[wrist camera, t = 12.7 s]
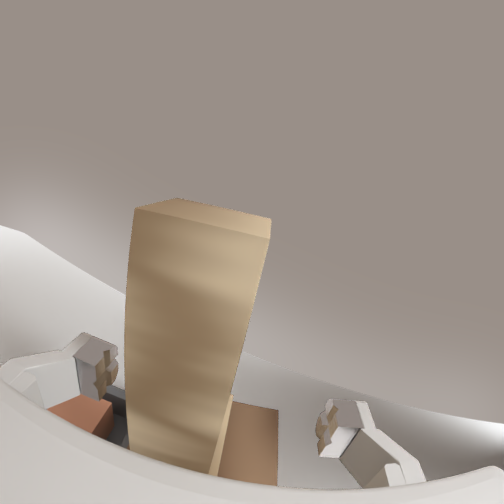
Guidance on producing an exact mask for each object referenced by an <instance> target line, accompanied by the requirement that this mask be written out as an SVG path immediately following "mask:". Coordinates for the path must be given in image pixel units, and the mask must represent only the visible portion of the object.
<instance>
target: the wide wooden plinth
mask: <svg viewBox="0 0 504 504" xmlns="http://www.w3.org/2000/svg"><path fill="white" fill-rule="evenodd" d="M127 449H128V450H130V446H129V445H128V447H127ZM277 468H278V410H274V409H268V408H263V407H258V406H253V405H248V404H243V403H238V402H234V401H232V405H231V410H230V415H229V420H228V425H227V430H226V435H225V440H224V445H223V450H222V455H221V460H220V465H219V470H218V475H217V476H218V477H222V478H227V479H232V480H238V481H244V482H250V483H257V484H264V485H272V486H277Z"/></svg>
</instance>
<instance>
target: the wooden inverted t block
mask: <svg viewBox="0 0 504 504" xmlns="http://www.w3.org/2000/svg"><path fill="white" fill-rule="evenodd" d="M270 231H271V219H269V218H264V217H261V216H256V215H252V214H247V213H244V212H239V211H235V210H230V209H226V208H221V207H217V206H212V205H208V204H203V203H198V202H194V201H189V200H184V199H180V198H175V199H171V200H166V201H162V202H157V203H153V204H149V205H145V206H141V207H136V208H135V211H134V219H133V226H132V234H131V242H130V252H129V262H128V274H127V287H126V304H125V334H124V367H125V396H126V413H127V426H128V436H129V446H130V450H131V451H133V452H136V453H139V454H141V455H144V456H147V457H150V458H153V459H156V460H159V461H162V462H165V463H168V464H171V465H175V466H178V467H181V468H185V469H189V470H192V471H196V472H200V473H204V474H209V475H213V476H217V475H218V470H219V465H220V460H221V455H222V450H223V445H224V440H225V435H226V430H227V425H228V420H229V415H230V410H231V405H232V400H233V395H232V394H230V393H231V389H232V385H233V382H234V378H235V374H236V370H237V367H238V363H239V359H240V355H241V351H242V347H243V344H244V340H245V336H246V332H247V328H248V324H249V320H250V316H251V312H252V309H253V305H254V301H255V297H256V292H257V289H258V285H259V281H260V277H261V273H262V269H263V265H264V261H265V256H266V253H267V248H268V245H269V241H270Z"/></svg>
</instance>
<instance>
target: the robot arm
mask: <svg viewBox="0 0 504 504" xmlns="http://www.w3.org/2000/svg"><path fill="white" fill-rule="evenodd" d="M117 355H118V348H117V346H116V345H113V344H111V343H109V342H106V341H104V340H102V339H99V338H97V337H94V336H92V335H90V334H87V333H85V332H84V333H81V334H80V335H79V336H78V337H76V338H75V339H74V340H73V341H72V342H71V343H70V344H68V345H67V346H66V347H65V348H64V349H63V350H62V351H60V350H54V351H49V352H44V353H39V354H34V355H28V356H23V357H17V358H12V359H9V360H8V361H7V362H6V363H4V364H3V365H2V366H1V367H0V504H504V470H502V469H501V468H498V467H496V466H487V467H484V468H480V469H477V470H474V471H470V472H467V473H463V474H459V475H455V476H451V477H446V478H442V479H437V480H432V481H426V479H425V476H424V473H423V471H422V468H421V466H420V463H419V461H418V460H417V459H416V458H415V457H413V456H412V455H411V454H410V453H408V452H407V451H406V450H404V449H403V448H402V447H401V446H400V445H398V444H397V443H396V442H395V441H393V440H392V439H391V438H390V437H388V436H387V435H386V434H385V433H384V432H382V431H381V430H380V429H376V426H375V423H374V420H373V418H372V415H371V412H370V409H369V406H368V404H367V402H366V401H355V400H354V401H351V400H341V399H332V398H330V399H329V400H328V401H327V402H326V404H325V411H324V412H322V413H321V414H320V416H319V418H318V420H317V424H316V436H317V437H318V438H319V439H320V440H319V442H318V443H317V446H318V454H319V457H329V458H340V459H339V460H340V461H341V462H342V463H343V465H344V466H345V467H346V468H347V470H348V471H349V472H350V473H351V475H352V476H353V477H354V478H355V480H356V481H357V482H358V483H359V485H360V486H361V487H362V488H363V489H308V488H293V487H281V486H272V485H264V484H257V483H250V482H244V481H238V480H232V479H227V478H222V477H218V476H213V475H209V474H204V473H200V472H196V471H192V470H189V469H185V468H181V467H178V466H175V465H171V464H168V463H165V462H162V461H159V460H156V459H153V458H150V457H147V456H144V455H141V454H139V453H136V452H133V451H131V450H128V449H126V448H123V447H121V446H118V445H116V444H113V443H111V442H109V441H107V440H104V439H102V438H100V437H98V436H96V435H93V434H91V433H89V432H87V431H85V430H83V429H81V428H79V427H77V426H75V425H73V424H71V423H70V422H68V421H66V420H64V419H62V418H60V417H59V416H57V415H55V414H53V413H52V412H50V411H48V410H47V409H48V408H50V407H52V406H55V405H57V404H60V403H62V402H65V401H67V400H69V399H72V398H74V397H76V396H79V395H80V394H82V395H85V396H87V397H89V398H91V399H94V400H96V401H98V402H99V401H100V400H101V399H102V397H103V396H104V395H105V393H106V392H107V389H106V386H109V385H112V384H113V382H114V381H115V379H116V376H117V373H118V362H117V361H116V359H115V357H116V356H117Z"/></svg>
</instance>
